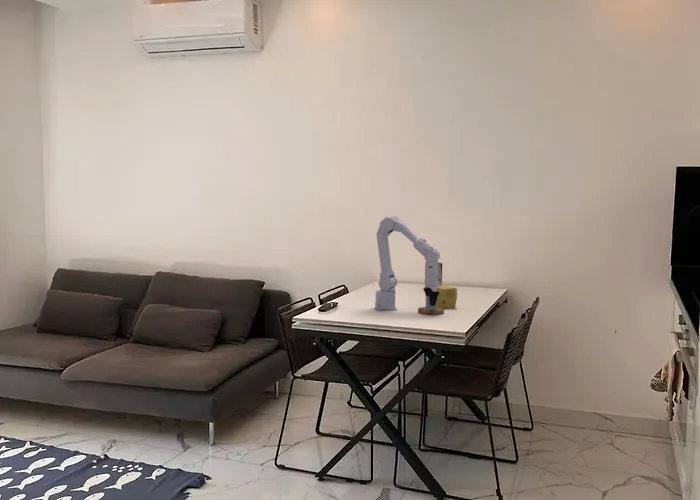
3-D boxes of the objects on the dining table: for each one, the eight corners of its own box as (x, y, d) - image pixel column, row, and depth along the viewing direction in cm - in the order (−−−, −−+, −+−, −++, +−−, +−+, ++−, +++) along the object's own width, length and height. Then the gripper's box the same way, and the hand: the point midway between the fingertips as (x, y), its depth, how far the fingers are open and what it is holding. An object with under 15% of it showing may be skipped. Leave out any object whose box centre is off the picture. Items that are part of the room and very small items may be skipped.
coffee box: (442, 291, 377) (443, 263, 375) (432, 292, 374) (433, 263, 372) (433, 289, 385) (434, 261, 383) (424, 289, 382) (424, 261, 381)
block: (427, 310, 311) (427, 297, 311) (425, 308, 315) (425, 295, 315) (435, 310, 312) (436, 297, 311) (433, 308, 316) (434, 295, 315)
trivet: (420, 314, 307) (420, 311, 307) (415, 310, 319) (415, 306, 319) (446, 314, 308) (446, 311, 308) (440, 310, 320) (440, 306, 320)
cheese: (436, 309, 323) (437, 288, 322) (428, 305, 333) (429, 285, 332) (456, 308, 326) (457, 288, 325) (447, 304, 336) (448, 284, 335)
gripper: (443, 277, 305) (442, 307, 306) (436, 273, 320) (436, 301, 321) (428, 277, 305) (427, 307, 306) (422, 273, 319) (421, 301, 320)
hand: (431, 304), depth 313 cm, fingers open, 7 cm apart
